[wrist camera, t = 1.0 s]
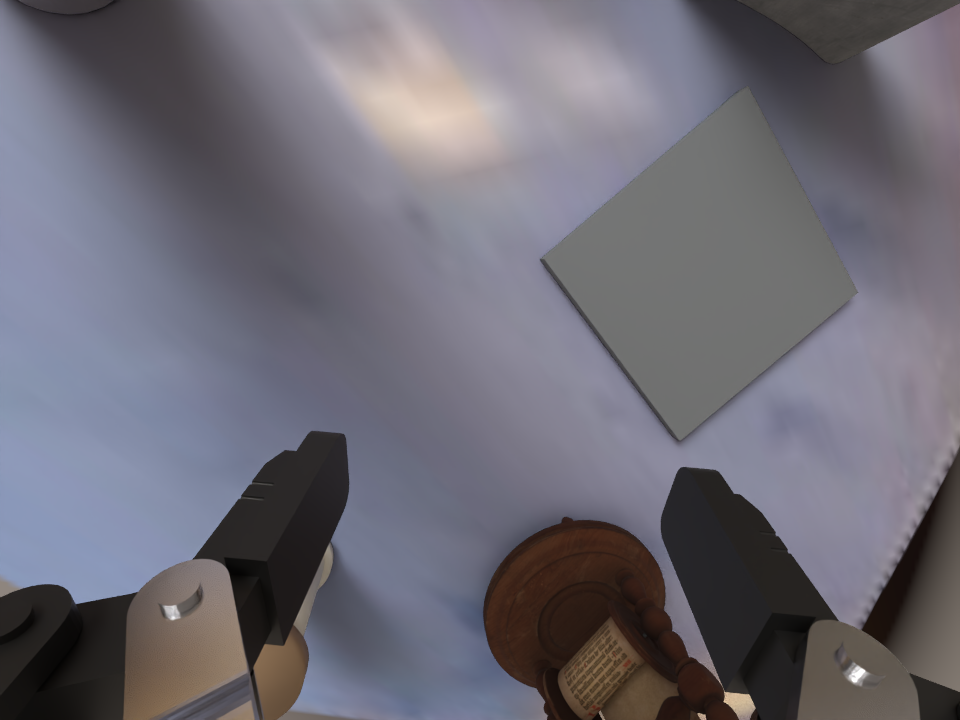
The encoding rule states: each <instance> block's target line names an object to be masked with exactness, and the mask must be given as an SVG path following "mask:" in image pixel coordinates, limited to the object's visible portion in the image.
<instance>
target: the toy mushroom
mask: <svg viewBox="0 0 960 720" xmlns="http://www.w3.org/2000/svg"><path fill="white" fill-rule="evenodd" d="M333 559H334V553H333V547H332V544H331V542H330V543H329V545H328V547H327V550H326V552H325V554H324V556H323V559H322V561H321V563H320V566H319V568H318V570H317V572H316V575H315V577H314V579H313V581H312V584H311V586H310V588H309V590H308V593H307V595H306V597H305V599H304V602H303V604H302V606H301V609H300V611H299V613H298V615H297V618H296V620H295V622H294V624H293V627H292V629H291V631H290V633H289V636H288V638H287V640H286V642H285V645H284V646H278V645H268V644H264V647H263V649H262V651H261V653H260V655H259V657H258V659H257V661H256V663H255V665H254V671H255V675H256V680H257V685H258V690H259V695H260V700H261V705H262V710H263V715H264V720H277V719H278V718H279V717H281V716H282V715H283V714H285V713H286V712H287V711H288V710H289V709H290V708H291V707H292V706H293V704H294V703H295V701H296V700H297V698H298V696H299V694H300V692H301V689H302V686H303V682H304V678H305V674H306V671H307V667H308V661H309V653H308V647H307V644H306V641H305V639H304V637H303V636H304V633H305V630H306V626H307V623H308V620H309V617H310V613H311V610H312V607H313V603H314V600H315V597H316V594H317V590H318V589H319V588H320V587H321V586H322V585H323V584H324V583H325V582H326V580H327V578H328V576H329V574H330V571H331V568H332V564H333Z"/></svg>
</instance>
